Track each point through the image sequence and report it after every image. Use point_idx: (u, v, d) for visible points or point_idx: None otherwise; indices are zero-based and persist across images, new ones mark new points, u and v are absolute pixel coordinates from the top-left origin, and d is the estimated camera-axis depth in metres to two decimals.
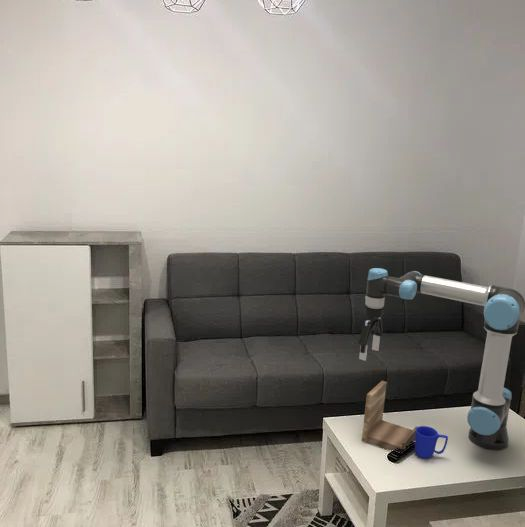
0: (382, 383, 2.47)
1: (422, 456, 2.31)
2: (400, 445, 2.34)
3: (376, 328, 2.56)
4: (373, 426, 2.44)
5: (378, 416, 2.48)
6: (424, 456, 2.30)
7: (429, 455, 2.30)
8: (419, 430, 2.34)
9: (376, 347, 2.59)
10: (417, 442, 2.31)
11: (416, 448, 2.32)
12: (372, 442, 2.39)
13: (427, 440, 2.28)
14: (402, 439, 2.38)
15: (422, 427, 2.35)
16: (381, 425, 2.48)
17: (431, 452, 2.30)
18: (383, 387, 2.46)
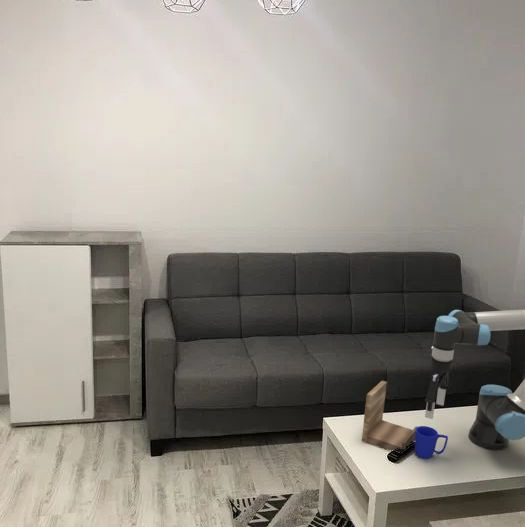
0: (382, 383, 2.47)
1: (422, 456, 2.31)
2: (400, 445, 2.34)
3: (442, 381, 2.30)
4: (373, 426, 2.44)
5: (378, 416, 2.48)
6: (424, 456, 2.30)
7: (429, 455, 2.30)
8: (419, 430, 2.34)
9: (442, 401, 2.34)
10: (417, 442, 2.31)
11: (416, 448, 2.32)
12: (372, 442, 2.39)
13: (427, 440, 2.28)
14: (402, 439, 2.38)
15: (422, 427, 2.35)
16: (381, 425, 2.48)
17: (431, 452, 2.30)
18: (383, 387, 2.46)
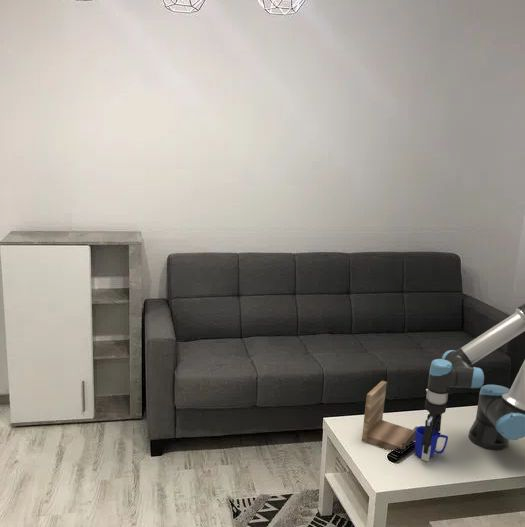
0: (382, 383, 2.47)
1: None
2: (400, 445, 2.34)
3: (436, 425, 2.33)
4: (373, 426, 2.44)
5: (378, 416, 2.48)
6: None
7: None
8: (419, 430, 2.34)
9: None
10: (417, 442, 2.31)
11: (416, 448, 2.32)
12: (372, 442, 2.39)
13: None
14: (402, 439, 2.38)
15: (422, 427, 2.35)
16: (381, 425, 2.48)
17: (431, 452, 2.30)
18: (383, 387, 2.46)
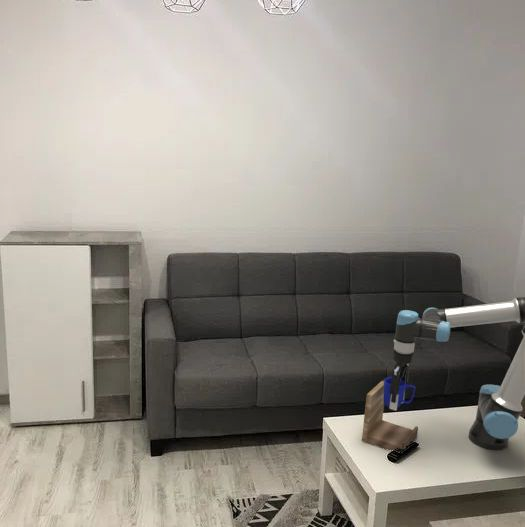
0: (382, 383, 2.47)
1: None
2: (400, 445, 2.34)
3: (403, 376, 2.38)
4: (373, 426, 2.44)
5: (378, 416, 2.48)
6: None
7: (397, 404, 2.37)
8: (388, 381, 2.41)
9: None
10: (385, 392, 2.37)
11: (384, 398, 2.38)
12: (372, 442, 2.39)
13: None
14: (402, 439, 2.38)
15: (391, 378, 2.41)
16: (381, 425, 2.48)
17: (399, 401, 2.37)
18: (383, 387, 2.46)
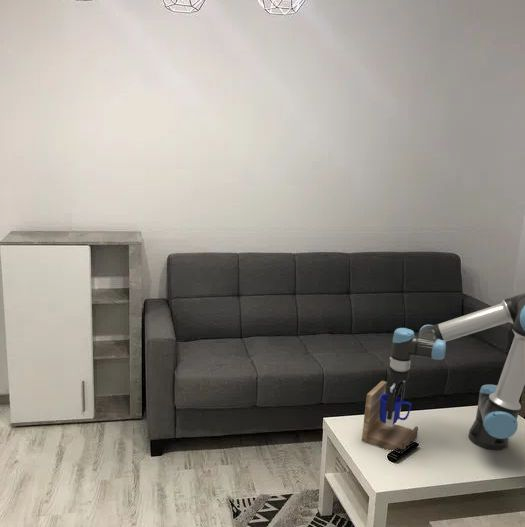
0: (382, 383, 2.47)
1: None
2: (400, 445, 2.34)
3: (399, 393, 2.40)
4: (373, 426, 2.44)
5: (378, 416, 2.48)
6: None
7: (393, 421, 2.39)
8: (384, 397, 2.43)
9: None
10: (381, 408, 2.39)
11: (381, 414, 2.40)
12: (372, 442, 2.39)
13: None
14: (402, 439, 2.38)
15: (387, 394, 2.43)
16: (381, 425, 2.48)
17: (395, 418, 2.39)
18: (383, 387, 2.46)
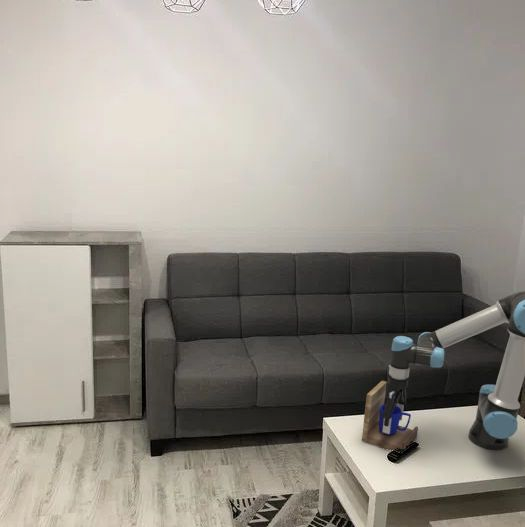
0: (382, 383, 2.47)
1: None
2: (400, 445, 2.34)
3: (400, 397, 2.42)
4: (373, 426, 2.44)
5: (378, 416, 2.48)
6: None
7: (392, 432, 2.40)
8: None
9: None
10: (381, 419, 2.40)
11: (380, 425, 2.41)
12: (372, 442, 2.39)
13: None
14: (402, 439, 2.38)
15: None
16: None
17: (394, 429, 2.40)
18: (383, 387, 2.46)
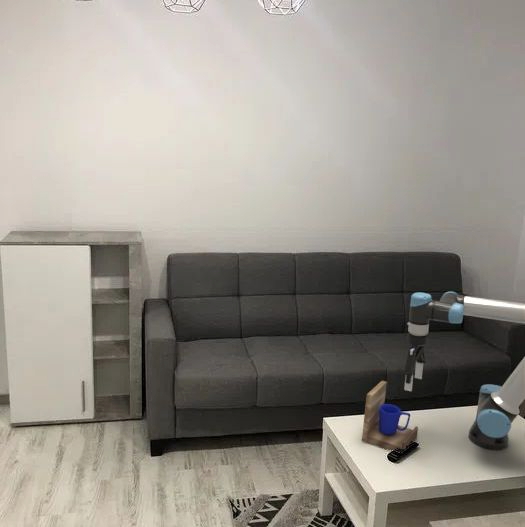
0: (382, 383, 2.47)
1: (385, 432, 2.40)
2: (400, 445, 2.34)
3: (419, 355, 2.41)
4: (373, 426, 2.44)
5: (378, 416, 2.48)
6: (387, 432, 2.40)
7: (392, 431, 2.40)
8: (383, 408, 2.44)
9: (420, 375, 2.45)
10: (380, 419, 2.40)
11: (380, 425, 2.42)
12: (372, 442, 2.39)
13: (389, 417, 2.38)
14: (402, 439, 2.38)
15: (386, 405, 2.45)
16: None
17: (394, 429, 2.40)
18: (383, 387, 2.46)
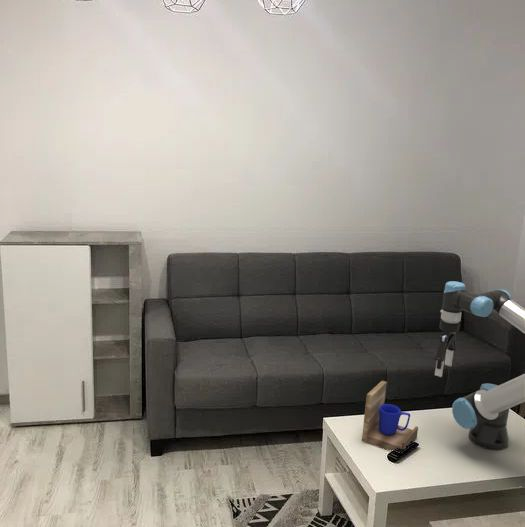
0: (382, 383, 2.47)
1: (385, 432, 2.40)
2: (400, 445, 2.34)
3: (450, 343, 2.47)
4: (373, 426, 2.44)
5: (378, 416, 2.48)
6: (387, 432, 2.40)
7: (392, 431, 2.40)
8: (383, 408, 2.44)
9: (449, 362, 2.51)
10: (380, 419, 2.40)
11: (380, 425, 2.42)
12: (372, 442, 2.39)
13: (389, 417, 2.38)
14: (402, 439, 2.38)
15: (386, 405, 2.45)
16: None
17: (394, 429, 2.40)
18: (383, 387, 2.46)
